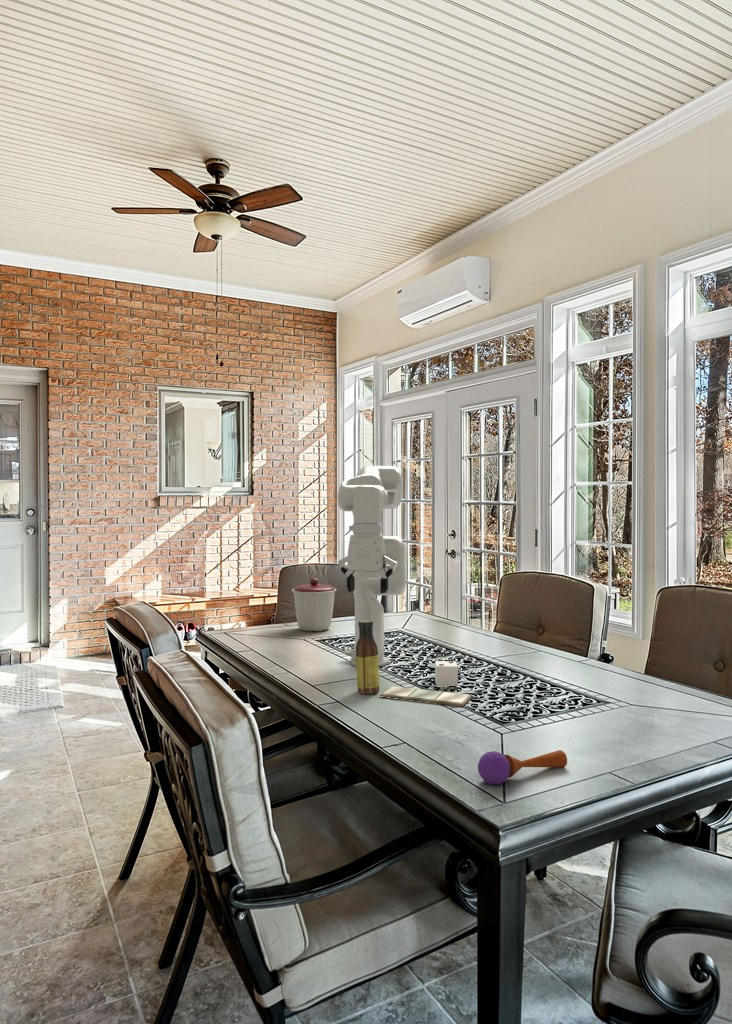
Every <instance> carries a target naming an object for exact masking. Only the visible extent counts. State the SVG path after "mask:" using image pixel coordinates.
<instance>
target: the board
mask: <svg viewBox="0 0 732 1024" xmlns="http://www.w3.org/2000/svg"><path fill="white" fill-rule="evenodd" d="M380 696H383V697H390V698H398V699H405V700H404V701H407V700H413V701H412V702H416V701H421V702H420V703H424V702H429V703H428V704H433V703H436V704H435V705H442V704H445V705H444V706H450V705H453V707H459V706H461V708H464V707H463V706H464V705H467V703H468V702H469V701H470V700H471V699H472V696H473V695H472V694H469V693H458V692H449V691H439V690H432V689H430V690H429V689H421V688H414V687H413V688H412V687H402V686H393V685H391V686H390V687H388V688H387V689H386V690H385V691H383V692H382V693H381V694H379V697H380ZM390 698H389V699H390ZM398 699H397V700H398Z"/></svg>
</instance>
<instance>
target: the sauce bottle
mask: <svg viewBox="0 0 732 1024" xmlns="http://www.w3.org/2000/svg"><path fill="white" fill-rule="evenodd" d="M358 626H359V640H358V641H357V644H356V666H355V668H356V687H357V692H358V693H359V692H360V693H359V694H361V693H364V694H363V695H373V694H372V693H375V694H377V693H379V692H380V670H379V669H380V667H379V662H378V649H377V645H376V643H375V641H374V638H373V628H372V627H373V621H372V620H360V621H359V622H358Z"/></svg>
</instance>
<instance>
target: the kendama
mask: <svg viewBox="0 0 732 1024" xmlns="http://www.w3.org/2000/svg"><path fill="white" fill-rule="evenodd" d="M567 765H568V757H567V754H566V753H565V752H564V751H563V750H562V749H561V750H560V749H558V750H555V751H551V752H548V753H545V754H541V755H538V756H535V757H531V758H528V759H524V760H519V759H518V758H515V757H514V756H511V755H510V754H509V755H508V754H503V753H501V752H499V751H496V750H494V751H493V750H492V751H487V752H485V753H483V754H482V756H481V757H480V758H479V761H478V764H477V771H478V774H479V776H480V778H481V779H482V780H483V781H484V782H485V783H487V784H489V785H492V786H495V785H502V784H503V783H504V782H506V781H507V780H508V778H509V779H510V778H512V777H513V776H515V774H517V773H518V772H519V771H520V770H521V769H522V768H565V767H566V766H567Z"/></svg>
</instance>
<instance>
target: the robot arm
mask: <svg viewBox="0 0 732 1024" xmlns="http://www.w3.org/2000/svg"><path fill="white" fill-rule="evenodd" d="M402 482H403V481H402V475H401V472H400V470H399V469H398V468H397V467H396V466H392V465H370V466H369V465H368V466H363V467H362V468H360V469H359V470H358V471H357V473H356V476H354V477H352V478H350V477H349V478H348V479H345V480H343V481H342V482H341V483H340V485H339V488H338V491H337V504H338V507H339V508H340V510H341V511H343V512H351V513H352V515H353V518H352V519H353V523H352V525H349V526H348V530H349V531H351V532H352V534H350V537H349V542H348V549H347V556H344V557H343V558H341V559H339V560H338V561H337V564H338V566H339V568H340V571H341V572H342V573H343V574H344V577H345V578H346V589H347V592H349V593H350V592H353V598H354V648H349V647H345V648H344V651H343V653H344V655H345V656H351V658H350V659H349V661H350V664H351V665H352V666H355V667H356V644H357V641H358V640H359V626H358V622H359V621H360V620H372V621H373V627H372V628H373V638H374V641H375V643H376V645H377V649H378V662H379V668H380V667H384V666H386V665H387V666H388V664H390V659H389V658H388V657H387V656H385V608H384V607H383V604H382V603H381V602H380V601H379V599H378V598H377V596H378V597H380V596H401V595H404V593H405V591H406V588H407V574H406V573H407V572H406V568H407V567H406V549H405V547H406V546H405V543H404V541H403V539H402V538H401V537H399V536H397V535H396V536H395V535H383V523H382V521H381V517H382V514H381V512H382V511H383V510H394V509H397V508H398V507H399V506H400V505H401V501H402ZM346 563H347V564H346ZM346 565H347V566H346Z"/></svg>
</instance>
